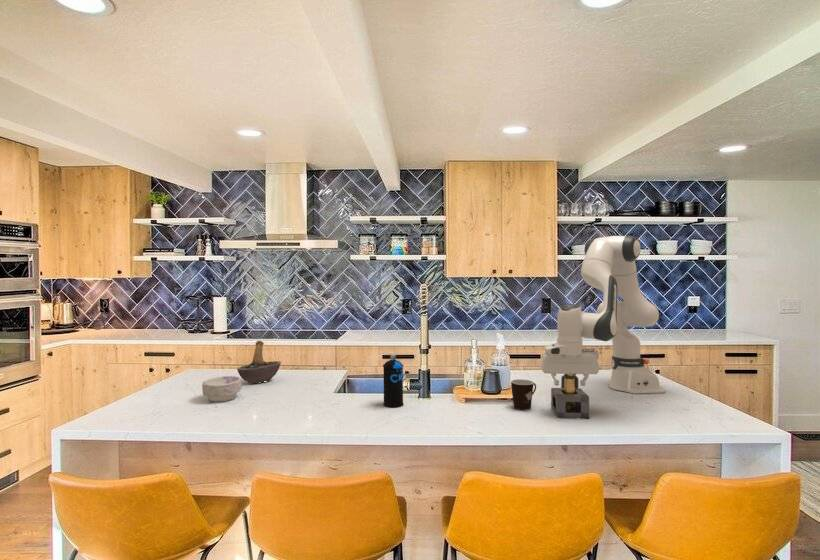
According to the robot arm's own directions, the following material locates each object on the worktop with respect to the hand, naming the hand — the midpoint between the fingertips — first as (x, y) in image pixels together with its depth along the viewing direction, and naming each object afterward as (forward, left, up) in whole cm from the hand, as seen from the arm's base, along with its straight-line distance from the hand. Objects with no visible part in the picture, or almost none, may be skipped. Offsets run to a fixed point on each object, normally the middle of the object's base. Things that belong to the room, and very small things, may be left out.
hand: (569, 385), depth 166 cm
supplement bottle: (-5, -20, -11) cm, 23 cm away
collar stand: (0, 0, -10) cm, 11 cm away
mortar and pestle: (+136, -34, -11) cm, 141 cm away
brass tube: (0, 0, -10) cm, 11 cm away
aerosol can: (+67, -5, -11) cm, 68 cm away
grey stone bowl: (+140, -7, -11) cm, 141 cm away
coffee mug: (+15, -6, -11) cm, 19 cm away
